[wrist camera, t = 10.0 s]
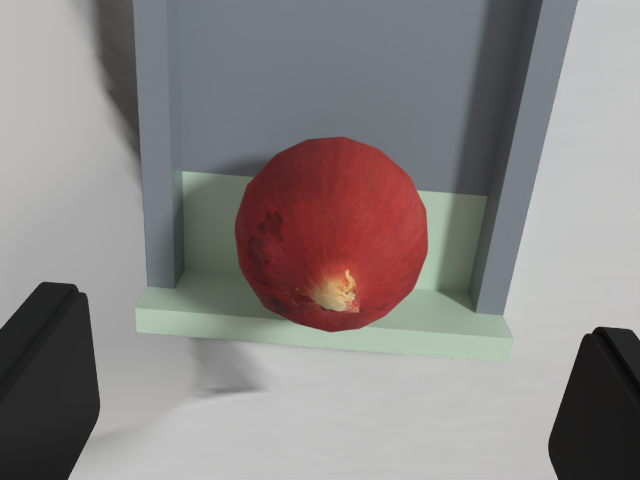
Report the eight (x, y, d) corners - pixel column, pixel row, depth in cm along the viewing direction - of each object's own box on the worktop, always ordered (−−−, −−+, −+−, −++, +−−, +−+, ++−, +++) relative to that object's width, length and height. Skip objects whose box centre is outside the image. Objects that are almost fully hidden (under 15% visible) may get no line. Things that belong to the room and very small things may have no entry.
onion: (301, 286, 24) (283, 431, 16) (221, 160, 21) (161, 262, 14) (439, 222, 22) (486, 349, 15) (368, 81, 20) (384, 150, 13)
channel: (142, -329, 17) (89, -405, 13) (615, -289, 17) (688, -355, 13) (165, 280, 25) (136, 332, 21) (484, 306, 25) (507, 362, 21)
